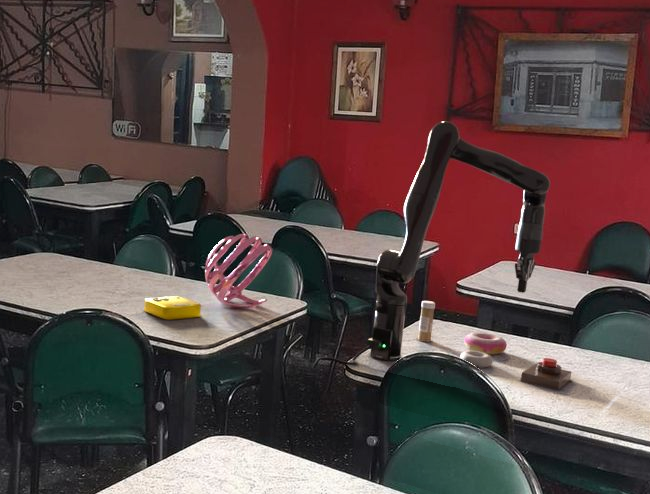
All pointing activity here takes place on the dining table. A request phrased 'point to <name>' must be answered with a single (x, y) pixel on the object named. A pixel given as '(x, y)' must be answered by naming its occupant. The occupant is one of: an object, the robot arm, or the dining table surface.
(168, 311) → the element tile
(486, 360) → the donut
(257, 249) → the spiral basket
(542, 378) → the switch block
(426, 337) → the sprinkles bottle
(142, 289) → the dining table surface
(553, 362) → the light button
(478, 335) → the donut
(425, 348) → the dining table surface
